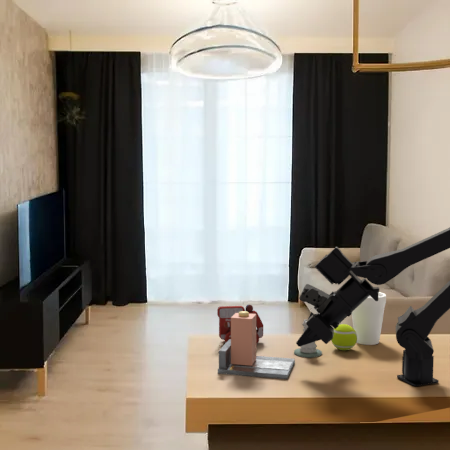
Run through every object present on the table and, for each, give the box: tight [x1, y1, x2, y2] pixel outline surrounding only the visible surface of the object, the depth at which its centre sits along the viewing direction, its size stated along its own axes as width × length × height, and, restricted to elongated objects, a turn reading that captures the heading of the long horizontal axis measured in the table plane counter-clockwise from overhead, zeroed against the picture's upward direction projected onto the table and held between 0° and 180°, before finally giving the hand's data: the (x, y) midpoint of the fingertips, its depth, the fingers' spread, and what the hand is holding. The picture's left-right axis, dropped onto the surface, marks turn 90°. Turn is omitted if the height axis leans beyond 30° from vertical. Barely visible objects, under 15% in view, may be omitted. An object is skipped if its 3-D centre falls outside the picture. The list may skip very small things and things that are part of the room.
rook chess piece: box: [299, 318, 318, 354], centre depth 155 cm, size 4×4×8 cm
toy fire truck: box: [216, 304, 264, 346], centre depth 165 cm, size 7×12×10 cm, turn 100°
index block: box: [231, 310, 257, 366], centre depth 145 cm, size 5×5×12 cm
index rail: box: [217, 339, 296, 380], centre depth 144 cm, size 16×12×5 cm
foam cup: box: [351, 291, 387, 346], centre depth 166 cm, size 10×9×13 cm
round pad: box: [293, 347, 323, 359], centre depth 156 cm, size 7×7×1 cm
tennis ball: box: [330, 323, 357, 351], centre depth 159 cm, size 7×7×7 cm
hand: (297, 344), depth 142 cm, fingers closed
